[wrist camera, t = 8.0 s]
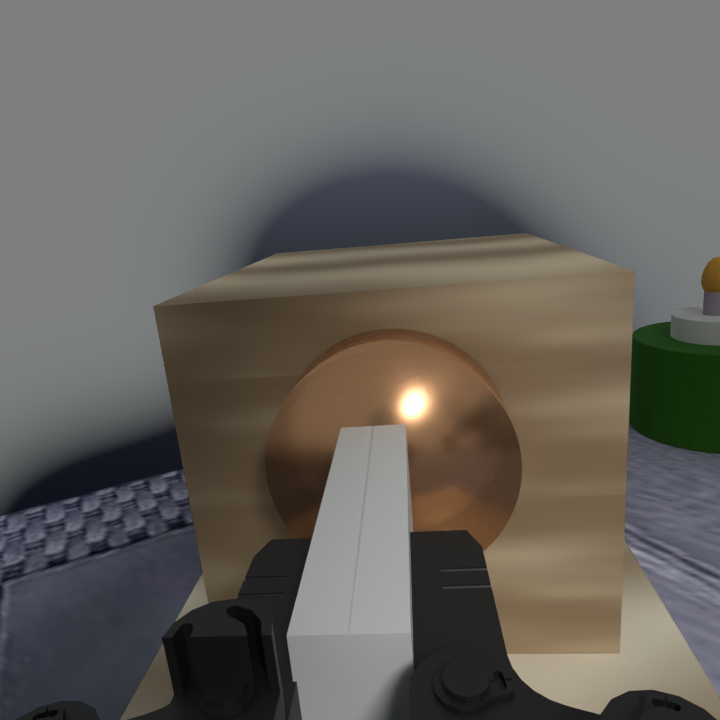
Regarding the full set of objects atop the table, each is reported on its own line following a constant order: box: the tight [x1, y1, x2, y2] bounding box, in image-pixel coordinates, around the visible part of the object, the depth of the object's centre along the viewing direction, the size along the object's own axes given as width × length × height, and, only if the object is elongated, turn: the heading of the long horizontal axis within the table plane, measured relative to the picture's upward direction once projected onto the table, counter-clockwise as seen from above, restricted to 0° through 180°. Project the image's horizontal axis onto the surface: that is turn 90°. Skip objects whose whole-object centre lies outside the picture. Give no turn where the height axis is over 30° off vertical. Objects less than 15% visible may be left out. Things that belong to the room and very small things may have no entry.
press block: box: [120, 233, 720, 720], centre depth 20 cm, size 21×16×12 cm
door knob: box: [265, 329, 522, 551], centre depth 21 cm, size 16×6×6 cm, turn 175°
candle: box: [629, 257, 720, 454], centre depth 33 cm, size 8×8×10 cm
